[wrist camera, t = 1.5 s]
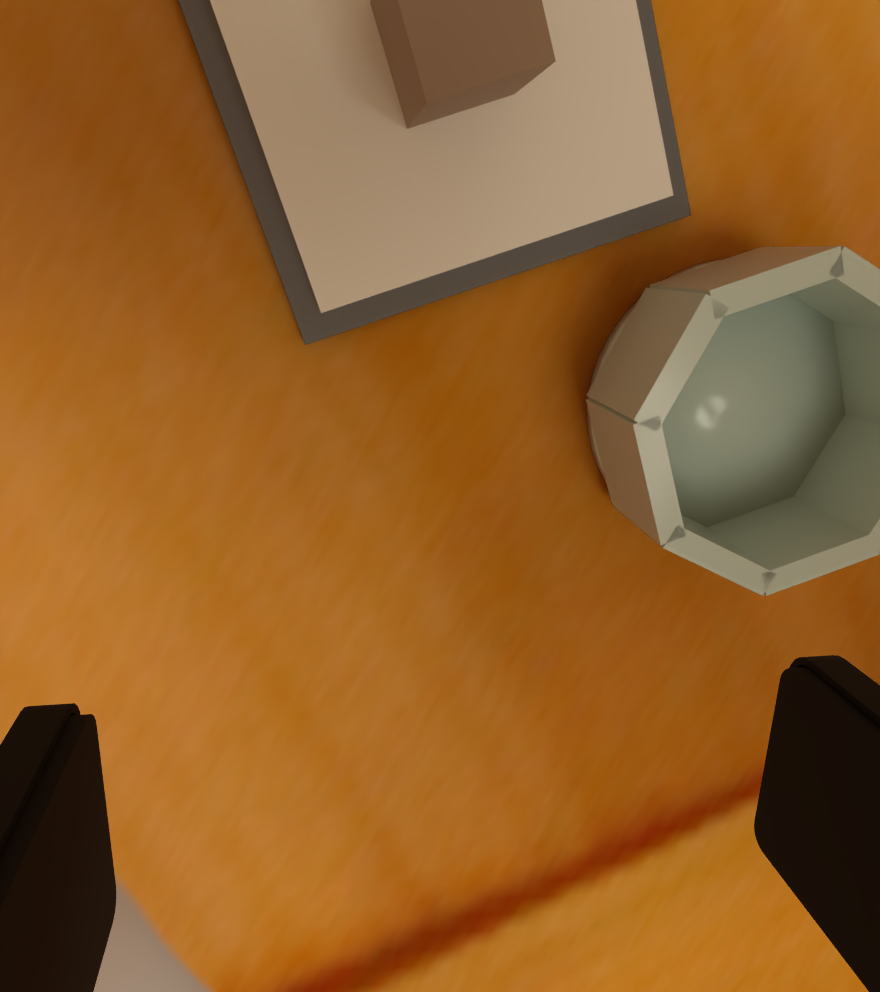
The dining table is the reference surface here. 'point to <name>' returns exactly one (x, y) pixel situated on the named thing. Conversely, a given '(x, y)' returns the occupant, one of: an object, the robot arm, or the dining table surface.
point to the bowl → (748, 414)
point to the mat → (440, 285)
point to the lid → (443, 127)
